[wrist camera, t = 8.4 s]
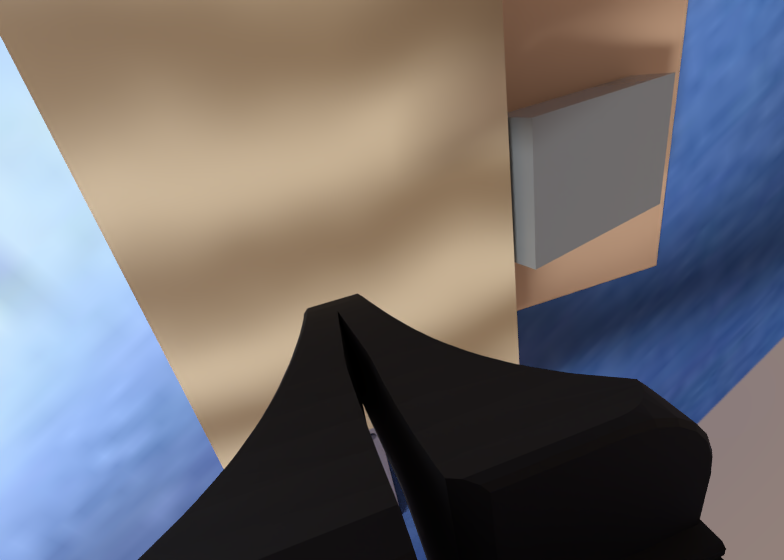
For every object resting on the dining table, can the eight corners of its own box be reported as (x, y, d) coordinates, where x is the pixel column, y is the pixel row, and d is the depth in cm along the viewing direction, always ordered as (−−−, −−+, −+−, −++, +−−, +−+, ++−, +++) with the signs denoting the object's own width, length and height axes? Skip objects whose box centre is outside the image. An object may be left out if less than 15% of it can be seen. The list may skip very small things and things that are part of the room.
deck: (481, 334, 24) (519, 375, 21) (232, 416, 22) (229, 479, 18) (445, -55, 16) (497, -93, 13) (42, 5, 14) (-30, -22, 10)
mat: (652, 263, 26) (656, 265, 26) (488, 316, 24) (491, 319, 24) (689, -63, 19) (696, -65, 19) (459, -25, 17) (463, -27, 17)
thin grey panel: (621, 197, 23) (660, 203, 21) (500, 257, 19) (535, 269, 18) (630, 75, 20) (675, 72, 19) (491, 117, 17) (532, 117, 15)
